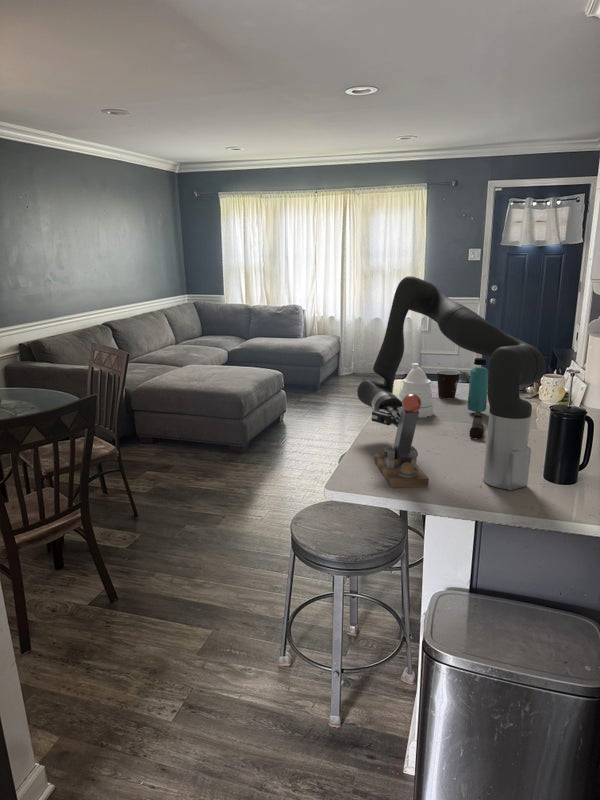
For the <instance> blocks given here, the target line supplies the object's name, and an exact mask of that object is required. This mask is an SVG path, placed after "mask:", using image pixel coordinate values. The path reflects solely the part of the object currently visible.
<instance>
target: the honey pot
mask: <svg viewBox="0 0 600 800" xmlns="http://www.w3.org/2000/svg"><path fill="white" fill-rule="evenodd" d="M401 381H402V383H403V384H402V387H401V388H400V391H399V394H398V396H397V398H398V399H399V400H400V401H401V402H402V401H403V399H404V397H405V396H407V395H409V394H415V395H417V396H418V397H419V398H420V399H421V408H420V409H419V410H418V411H419V415H418V418H428V417H427V416H429V417H431V416H433V415H434V402H435V400H434V397H433V392H432V389H431V387H430V385H431V384H432V381H431V379H428V376H427V375H426V373H425V372H424V370H423V369H422V368H421V367H420V364H419V363H414V362H413V363H411V370H410V371H409V372H408V373H407V375H406V377H405V378H403V379H402V380H401Z"/></svg>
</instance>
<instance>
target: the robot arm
mask: <svg viewBox="0 0 600 800" xmlns="http://www.w3.org/2000/svg"><path fill="white" fill-rule="evenodd" d="M409 311H412V312H415V313H417V314H421V315H424V316H425V317H428V318H430V319H432V321H434V322H436V323H437V326H438V329H439V331H440V332H441V334H442V335H444V336H445V338H447V339H448V340H449V341H451V342H452V343H453V344H455V345H457V347H460V348H462V349H464V350H467V351H470V352H472V353H475V354H478V355H481V356H485V357H489V362H488V369H487V370H488V390H487V391H488V394H487V395H488V396H487V402H488V405H489V413H488V420H487V422H488V423H487V431H486V432H487V433H486V444H485V445H486V446H485V456H484V467H483V479H482V480H483V482H484V483H485V484H487V485H489V486H491V487H493V488H499V489H504V490H508V491H513V490H517V489H521V488H525V487H527V486H528V484H529V483H528V482H529V474H530V473H529V472H530V465H531V464H530V463H531V455H532V448H531V447H530V446H528V445H529V440H530V439H529V437H530V429H531V428H530V427H531V422H532V421H531V418H532V411H533V407H532V403H531V402H530V401H528V400H526V399H522V398H521V396H520V386H525V385H531V384H534V383H536V382H539V380H541V379H542V378H543V377H544V375H545V374H546V370H547V363H546V360H545V357H544V355H543V354H542V352H540V350H539V349H537V347H536V346H533V345H531V344H529V343H528V342H525V341H523V340H521V339H518V338H517V337H515V336H512V335H510V333H509V334H508V333H507V332H505V331H504V330H502V329H500V328H499V327H497V326H496V325H494V323H491V322H490V321H488V320H486V319H485V318H484V317H482V316H481V315H479V314H478V313H476V312H475V311H473V309H470V308H468V307H467V306H465V305H463V304H461V303H459V302H458V301H454V300H453V299H451V298H449V297H448V296H447V295H446V294H445V293H443V292H442V291H441V290H440V289H439V288H438V287H437V286H436V285H435V284H433V283H431V282H430V281H427V280H425V279H421V278H419V277H415V276H412V275H409V276H408V275H407V276H405V277H404V278H402V279H401V280H400V281H399V283H398V284H397V287H396V289H395V293H394V294H393V299H392V304H391V308H390V312H389V316H388V321H387V325H386V329H385V334H384V337H383V340H382V344H381V345H380V349H379V352H378V353H377V356H376V359H375V361H374V364H373V365H372V366H373V367H372V371H373V372H374V374H376V375H378V376H380V377H381V378H382V379H383V383H381V382H379V381H375V380H372V379H365V380H364V379H363V381H361V382H360V384H359V385H358V386H357V390H356V391H357V392H356V393H357V398H358V400H359V401H360V402H361V403H362V404H364V405H366V406H368V407H370V408H371V409H372V410H371V422H375V423H378V424H382V425H385V426H392V425H393V426H394V427H397V428H398V423H399V418H400V414H401V409H402V402H401V401H400V400H399V399H398V396H396V395H395V394H394V391H393V390H394V383H395V379H396V378H395V377H396V376H397V371H398V369H399V367H400V365H401V361H402V360H403V356H404V353H405V352H404V351H405V338H404V337H405V335H404V328H405V327H404V326H405V320H406V318H407V315H408V313H409ZM418 421H419V418H418V419H417V422H418Z"/></svg>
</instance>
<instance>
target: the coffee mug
mask: <svg viewBox="0 0 600 800" xmlns="http://www.w3.org/2000/svg"><path fill="white" fill-rule="evenodd" d="M436 376H437V389H438V390H437V392H438V393H437V394H438V396H439V397H438V398H440V397H441V398H440V399H444V398H453V399H455V398H456V393H457V387H458V384H459V377H460V372H459V371H455V370H450V369H449V370H445V369H444V370H437V374H436ZM454 397H455V398H454Z"/></svg>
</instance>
